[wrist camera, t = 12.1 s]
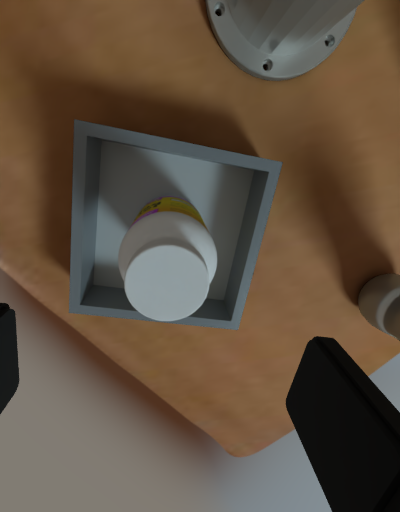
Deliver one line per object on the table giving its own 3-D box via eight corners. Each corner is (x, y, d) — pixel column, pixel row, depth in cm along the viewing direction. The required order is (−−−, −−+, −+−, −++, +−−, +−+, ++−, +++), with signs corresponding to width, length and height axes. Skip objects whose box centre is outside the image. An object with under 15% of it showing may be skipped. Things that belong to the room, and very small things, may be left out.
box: (94, 128, 23) (74, 119, 19) (262, 162, 26) (282, 162, 21) (86, 287, 28) (69, 312, 24) (228, 304, 31) (237, 329, 26)
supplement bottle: (161, 180, 24) (151, 197, 12) (215, 220, 26) (252, 269, 14) (122, 236, 26) (81, 300, 14) (177, 270, 28) (181, 354, 16)
